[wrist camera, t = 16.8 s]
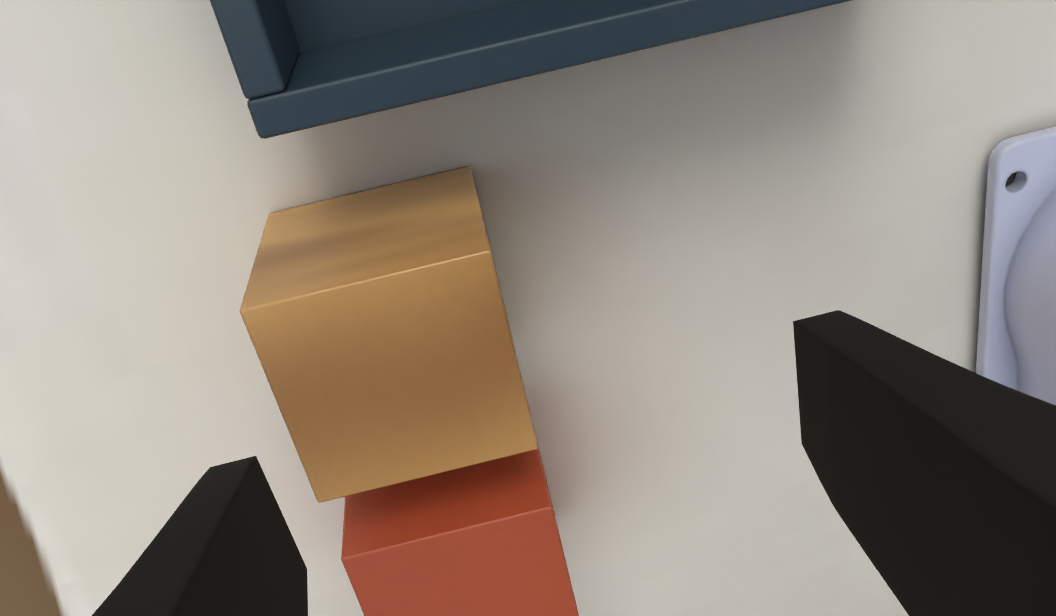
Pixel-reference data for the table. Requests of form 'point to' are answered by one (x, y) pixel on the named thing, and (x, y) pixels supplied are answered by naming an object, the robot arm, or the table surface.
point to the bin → (441, 46)
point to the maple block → (387, 335)
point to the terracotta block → (459, 544)
